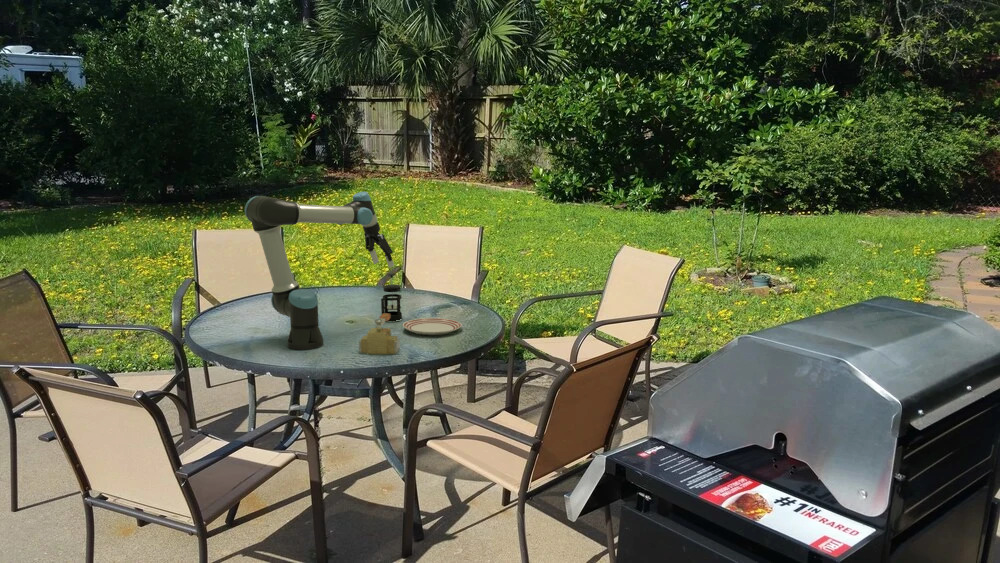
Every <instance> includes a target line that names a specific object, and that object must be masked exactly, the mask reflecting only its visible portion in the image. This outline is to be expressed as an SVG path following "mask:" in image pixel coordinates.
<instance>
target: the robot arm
mask: <svg viewBox="0 0 1000 563" xmlns="http://www.w3.org/2000/svg"><path fill="white" fill-rule="evenodd" d="M244 215H245V217H246V218H247V220H248V221H249V222H250V223H251V225H252V229H253V231H254V232H255V233H257V234H258V236H259V239H260V242H261V246H262V250H263V253H264V257H265V260H266V263H267V266H268V270H269V274H270V277H271V280H272V284H273V286H272V288H271V294H272V296H271V299H270V301H271V306H272V307H273V309H274V310H275V312H277V313H278V314H280V315H283V316H286V317H288V318H289V322H290V324H289V325H290V330H289V334H288V336H287V337H288V338H287V341H286V345H287V348H288V349H291V350H297V351H301V350H302V351H303V350H304V351H306V350H313V349H317V348H321V347H322V346H324V338H323V335H322V331H321V329H320V327H319V307H318V306H319V305H318V304H319V300H318V295H317V293H316V292H315V291H313V290H311V289H300V284H299V283H298V282H297V281H296V280H294V278H293V274H292V273H293V272H292V270H291V267H290V266H291V265H290V263H289V259H288V257H287V253H286V249H285V245H284V241H283V238H282V235H281V231H280V228H281V226H288V225H289V226H290V225H292V226H295V225H297V224H298V223H306V224H307V223H308V224H312V223H313V224H337V225H340V226H341V225H344V224H346V225H348V224H350V225H361V226H362V229H363V231H364V233H363V235H364V242H365V244H364V245H365V249H366V251H368V252H369V254H370V257H371V259H372V262H373V265H376V264H377V263H380V261H379V258H378V255H377V251H376V249H375V245H377V246H379V248H380V249H381V250H382V252H383V253H384V258H385V261H386V263H387V265H388V269H392V268H393V267H395V264H394V260H393V257H392V253H394V252H393V249H392V248H391V246H390V245H389V243H388V241H387V239H386V238H385V235H384V234H383V233H382V234H380V233H379V232H380V231H381V227H380V224H379V222H378V218H377V214H376V212H375V208H374V206H373V203H372V199H371V196H370V194H369V193H368V192H367V191H360V192H357V193H355V194H354V195H352V200H351V202H348V203H346V204H344V205H341V206H340V205H323V204H322V205H320V204H318V205H317V204H302V203H298V202H296V201H290V200H285V199H279V198H276V197H270V196H266V195H255V196H252V197H251V198H249V200H247V202H246V204H245V206H244Z"/></svg>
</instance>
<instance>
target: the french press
mask: <svg viewBox="0 0 1000 563" xmlns="http://www.w3.org/2000/svg"><path fill="white" fill-rule="evenodd" d="M386 275H387V276H388V277H389V276H390V280H391V281H390V282H391V284H385V285H383V286H382V288H383V292H384V293H387V294H384V295H383V296H382V297H381V298H380V303H381V312H380V313H381V315H382V314H383V313H388V314H390V319H389V320H388V321H396V320H400V319H402V320H403V315H402V314H403V313H402V312H401V308H402V306H401V299H402V295H401V294H398V293H397V292H401V288H402V285H400V284H393V278H394V277H393V276H396V275H397V274H396V273H387V274H386ZM388 293H389V294H388ZM396 293H397V294H396ZM389 301H391V305H389ZM395 301H396V304H394V303H393V302H395Z"/></svg>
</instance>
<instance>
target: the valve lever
mask: <svg viewBox="0 0 1000 563" xmlns="http://www.w3.org/2000/svg"><path fill="white" fill-rule="evenodd" d="M389 319H390V314H388V313H385V312H384V313H383V314H382V313H381V315H380V316H379V318H378V319H375V320H374V322H375V326H376V328H377V331H381V330H382V329H381V328H382V326H383V325H384V324H385V323H386V322H385V321H388V320H389Z"/></svg>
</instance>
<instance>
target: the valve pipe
mask: <svg viewBox="0 0 1000 563" xmlns="http://www.w3.org/2000/svg"><path fill="white" fill-rule="evenodd" d="M381 329H382V330H381V331H377V327H372V328H371V329H370V330H369V331H367V334H365V335H363V337H361V338H360V339H359V341H358V349H359V351H358V352H359V353H360V354H368V355H384V356H385V355H396V353H397V354H399V352H400V351H401V346H400V344H401V343H400V342H401V341H400V340H401V339H400V338H398V335H392V330H391V328H388V327H387V328H385V327H381ZM399 350H400V351H399Z"/></svg>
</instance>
